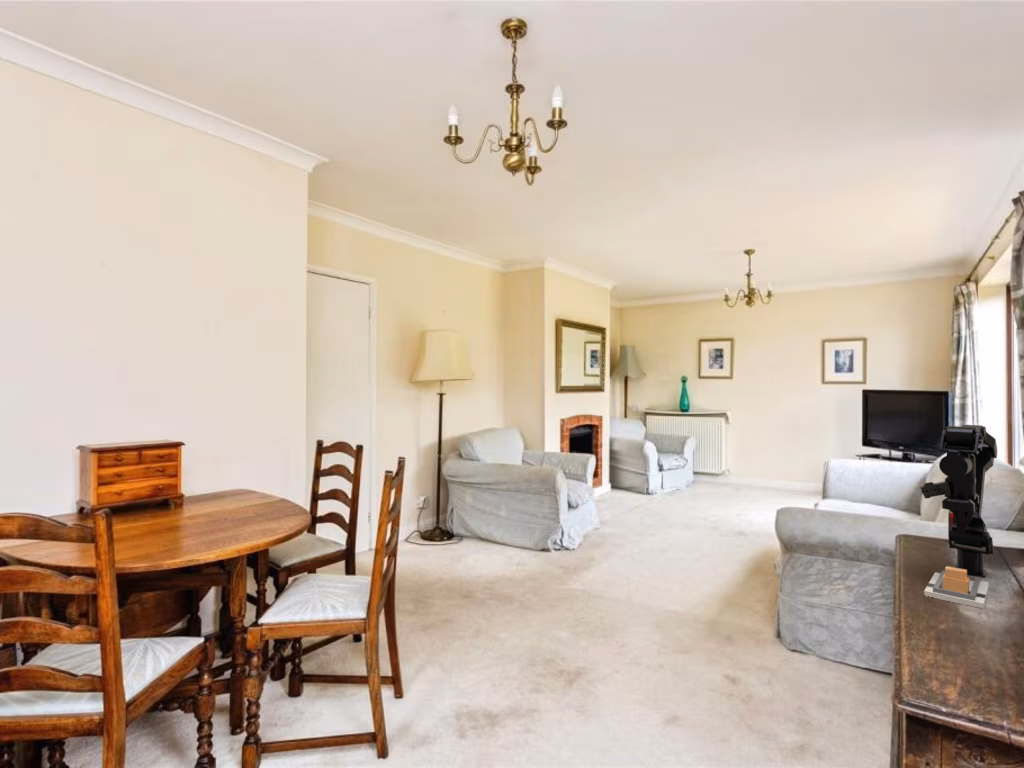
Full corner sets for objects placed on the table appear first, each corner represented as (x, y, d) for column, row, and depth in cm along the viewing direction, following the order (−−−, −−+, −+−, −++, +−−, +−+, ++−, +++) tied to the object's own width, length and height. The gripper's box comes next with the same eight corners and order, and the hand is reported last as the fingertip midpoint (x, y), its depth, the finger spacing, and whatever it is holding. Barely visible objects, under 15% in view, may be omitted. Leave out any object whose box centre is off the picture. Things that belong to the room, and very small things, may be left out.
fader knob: (944, 585, 136) (944, 564, 136) (969, 590, 133) (969, 569, 133) (942, 589, 133) (942, 568, 134) (967, 594, 130) (967, 573, 130)
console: (935, 576, 147) (935, 568, 147) (988, 587, 139) (988, 578, 139) (924, 595, 133) (924, 586, 133) (983, 608, 125) (983, 599, 125)
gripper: (928, 467, 155) (927, 522, 155) (917, 474, 142) (917, 533, 141) (979, 471, 147) (979, 529, 147) (973, 479, 134) (973, 542, 134)
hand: (961, 533), depth 142 cm, fingers closed
